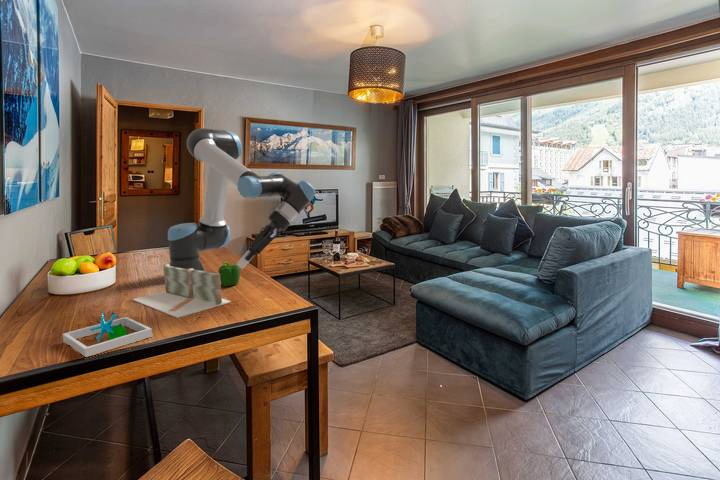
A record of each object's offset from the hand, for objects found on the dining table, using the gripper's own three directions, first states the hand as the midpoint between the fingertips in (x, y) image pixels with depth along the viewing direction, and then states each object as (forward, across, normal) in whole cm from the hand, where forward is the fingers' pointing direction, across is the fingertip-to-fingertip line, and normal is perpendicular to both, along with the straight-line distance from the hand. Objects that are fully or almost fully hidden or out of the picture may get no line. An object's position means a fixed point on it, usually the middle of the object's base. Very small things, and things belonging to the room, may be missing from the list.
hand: (239, 266), depth 136 cm
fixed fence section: (+21, +16, +5) cm, 27 cm away
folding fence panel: (+16, +2, 0) cm, 16 cm away
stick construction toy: (+35, -18, +18) cm, 43 cm away
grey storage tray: (+36, -18, +19) cm, 44 cm away
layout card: (+22, +9, +5) cm, 24 cm away
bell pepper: (+9, +22, -8) cm, 25 cm away
